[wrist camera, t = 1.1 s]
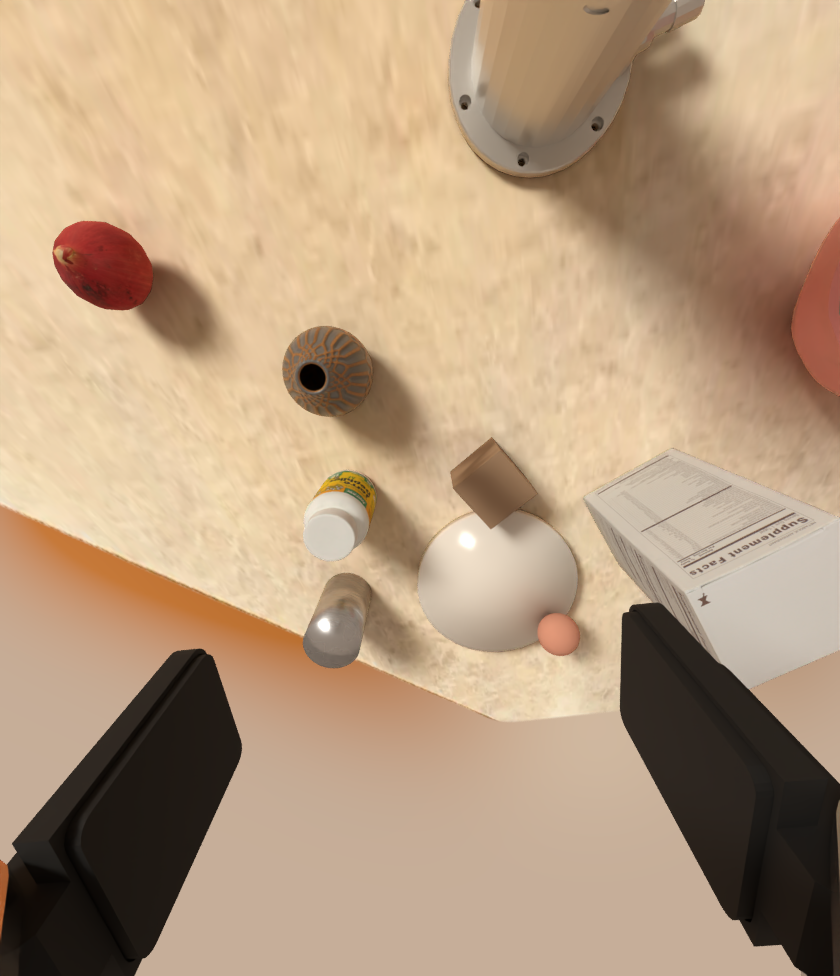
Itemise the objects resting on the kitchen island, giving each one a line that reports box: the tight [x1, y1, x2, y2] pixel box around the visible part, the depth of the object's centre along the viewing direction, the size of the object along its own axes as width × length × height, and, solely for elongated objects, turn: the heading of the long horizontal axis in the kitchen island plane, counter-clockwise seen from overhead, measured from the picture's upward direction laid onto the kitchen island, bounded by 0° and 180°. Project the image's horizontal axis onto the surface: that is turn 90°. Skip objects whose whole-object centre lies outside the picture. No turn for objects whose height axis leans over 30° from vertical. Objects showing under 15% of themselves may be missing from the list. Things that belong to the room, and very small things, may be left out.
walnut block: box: [450, 437, 537, 529], centre depth 37 cm, size 5×5×5 cm
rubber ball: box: [537, 613, 580, 656], centre depth 41 cm, size 4×4×4 cm
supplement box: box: [583, 448, 840, 689], centre depth 33 cm, size 10×9×17 cm
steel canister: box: [303, 573, 371, 668], centre depth 41 cm, size 5×5×8 cm
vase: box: [282, 326, 373, 417], centre depth 33 cm, size 7×7×9 cm
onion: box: [53, 221, 153, 310], centre depth 31 cm, size 6×6×8 cm
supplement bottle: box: [303, 470, 377, 561], centre depth 36 cm, size 5×5×10 cm
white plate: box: [417, 510, 578, 652], centre depth 43 cm, size 16×16×1 cm
